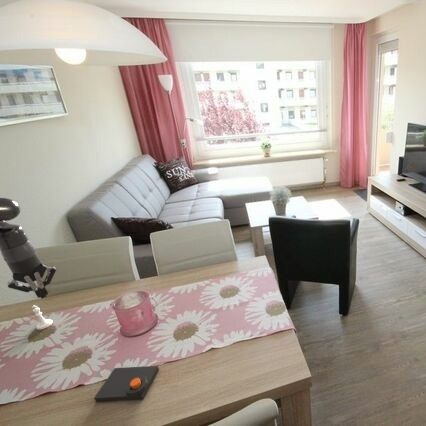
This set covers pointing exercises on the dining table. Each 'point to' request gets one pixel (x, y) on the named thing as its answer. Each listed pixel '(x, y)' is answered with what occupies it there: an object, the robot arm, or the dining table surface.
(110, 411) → the dining table surface
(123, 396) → the dark grey flat block
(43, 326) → the chess piece
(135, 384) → the button
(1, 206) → the robot arm
